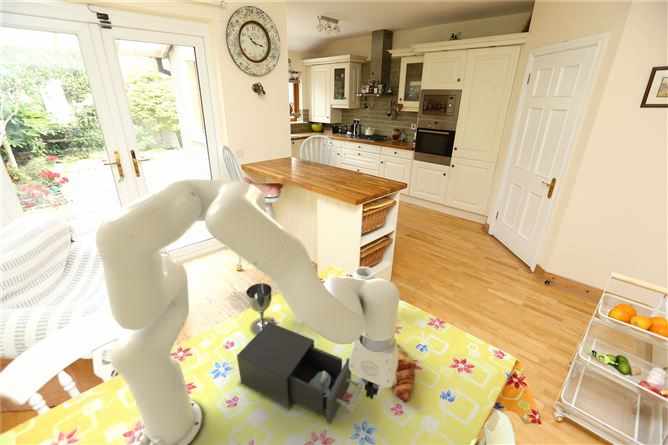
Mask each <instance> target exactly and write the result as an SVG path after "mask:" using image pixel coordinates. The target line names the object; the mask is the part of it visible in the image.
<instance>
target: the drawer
mask: <svg viewBox="0 0 668 445" xmlns="http://www.w3.org/2000/svg"><path fill="white" fill-rule="evenodd" d="M349 360H350V357H348V358H346V361H345V363H344V364H343V358H341V357H339V356H336V355H334V354H332V353H329V352H327V351H324V350H321V349H319V348H317V347H315V346H314V347H312V346H311V347H310V349H309V350H308V352H307V353H306V354H305V356H304V357H303V359H302V360H301V362H300V363H299V364H298V366H297V367H296V369H295V370H294V372H293V373H292V374H291V376H290V377H289V379H288V381H289V395H290V400H291V401H293V402H292V403H296V404H298V405H299V406H301V407H302V408H305V409H307V410H309V411H311V412H313V413H315V414H317V415H319V416H321V417H324V415H325V413H326V416H325V417H326V418H325V419H326V420H325V422H326V424H329V425H332V423H333V421H334V419H335V417H336V415H337V412H338V411H339V408H340V406H341V405H342V406H345V407H346V408H347V410H349V411H353V410H354V408H355V406H356V403H357V401H358V399H359V396H360V393H361V391H362V389H363V388H364V387H363V386H364V383H363V382H361V381H358V382H357V381H355V380H353V379H352V372H351V371H350V370H349ZM322 371H325V372H327V373H328V374H329V375H330V378H331V382H330V385H329V387H328V388H329V390H330V393H329V395H328V397H325V398H324V391H323V390H321V389H319V388H316V387H314V386H312V385H310V384H309V382H310V381H311V380H312V379H313V378H315V376H316V375H317V374H318V373H319V372H322ZM327 380H328V379H327ZM350 385H354V386H355V387H354V390H353V392H352V394H351V396H350V399H349V400H348V402H347V401H344V398H345V396H346V394H347V392H348V389H349V387H350ZM325 395H327V394H326V393H325Z"/></svg>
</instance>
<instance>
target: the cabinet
mask: <svg viewBox="0 0 668 445" xmlns="http://www.w3.org/2000/svg"><path fill="white" fill-rule="evenodd" d="M311 346H312V347H315V340H314V339H312V338H309V337H308V336H305V335H302V334H300V333H298V332H295V331H293V330H290V329H287V328H285V327H283V326H280V325H278V324H275V323H274V322H273V323H270V322H268V323H267V325H266V326H265V327H264V328H263V329H262V330H261V331H260V332H259V333H258V334H257V333H256V335H254V337H253V338H252V339H251V340H250V341H249V342H248V343H247V344H246V345H245V346H244V347H243V348H242V349H241V350H240V351H239V352H238V353H237V355H236V359H237V366H238V371H239V379H240V383H241V384H242V385H244V386H246V387H247V388H250V389H251V390H253V391H255V392H258V393H259V394H261V395H263V396H264V397H267V398H269V399H270V400H272V401H275V402H276V403H278V404H280V405H282V406H284V407H286V408H288V409H289V408H290V407H291V405H292V403H294V402H293V401H291V400H290V395H289V381H288V379H289V377H290V376H291V374H292V373H293V372H294V370H295V369H296V367H297V366H298V364H299V363H300V362H301V360H302V359H303V357H304V356H305V354H306V353H307V352H308V350H309V349H310V347H311Z"/></svg>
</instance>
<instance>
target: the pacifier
mask: <svg viewBox="0 0 668 445" xmlns="http://www.w3.org/2000/svg"><path fill="white" fill-rule="evenodd" d="M327 379H328V380H327ZM330 382H331V378H330V375H329V374H328V373H327V372H325V371H322V372H319V373H318V374H317V375H316V376H315V378H313V379H312V380H311V381H310V382H309V384H310V385H312V386H314V387H316V388H319V389H321V390H323V391H324V398H325V397H328V395H329V393H330V390H329V388H328V387H329V385H330ZM325 393H326V394H327V395H325Z"/></svg>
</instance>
